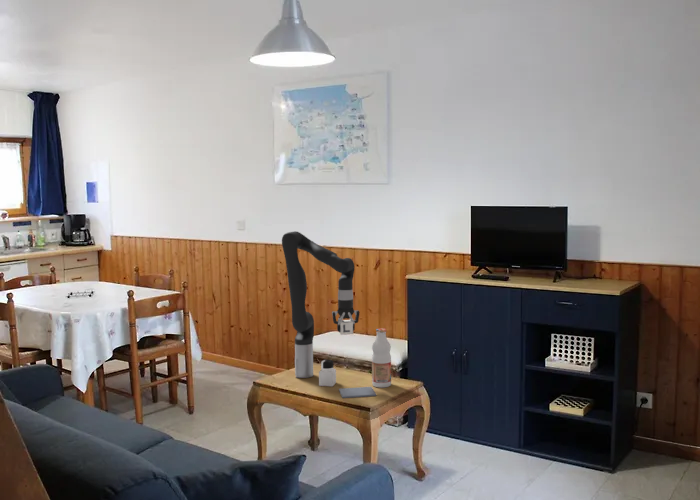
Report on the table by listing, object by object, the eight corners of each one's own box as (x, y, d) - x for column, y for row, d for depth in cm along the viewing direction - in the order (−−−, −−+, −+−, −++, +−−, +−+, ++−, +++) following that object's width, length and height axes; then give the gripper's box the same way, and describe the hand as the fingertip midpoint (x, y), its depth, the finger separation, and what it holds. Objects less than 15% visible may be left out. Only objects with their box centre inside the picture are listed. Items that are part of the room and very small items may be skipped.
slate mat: (342, 398, 301) (342, 396, 301) (338, 390, 313) (338, 388, 313) (376, 395, 303) (376, 394, 303) (371, 388, 315) (371, 386, 315)
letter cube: (341, 334, 321) (341, 322, 321) (339, 332, 327) (338, 320, 327) (353, 334, 322) (352, 322, 322) (350, 331, 328) (350, 319, 328)
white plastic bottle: (368, 384, 321) (367, 328, 319) (383, 381, 327) (383, 326, 324) (379, 389, 314) (379, 332, 311) (395, 385, 319) (394, 329, 316)
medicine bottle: (336, 382, 326) (335, 358, 324) (333, 386, 319) (332, 362, 317) (322, 381, 327) (322, 358, 326) (318, 385, 320) (318, 362, 319)
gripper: (358, 296, 328) (358, 329, 330) (330, 297, 325) (330, 330, 327) (361, 299, 321) (361, 332, 322) (332, 300, 318) (332, 333, 320)
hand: (345, 331), depth 325 cm, fingers closed on letter cube, 6 cm apart
